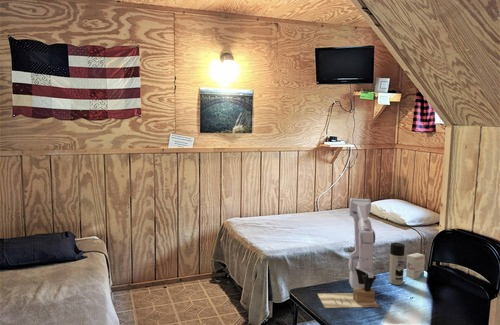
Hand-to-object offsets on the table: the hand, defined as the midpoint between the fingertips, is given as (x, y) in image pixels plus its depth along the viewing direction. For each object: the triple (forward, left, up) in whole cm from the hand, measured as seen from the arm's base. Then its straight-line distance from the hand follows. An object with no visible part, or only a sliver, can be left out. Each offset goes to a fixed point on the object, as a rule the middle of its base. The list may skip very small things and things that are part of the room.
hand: (364, 287), depth 177 cm
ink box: (-31, +39, -8) cm, 50 cm away
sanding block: (0, 0, -6) cm, 6 cm away
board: (-1, -7, -8) cm, 10 cm away
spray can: (-23, +25, -8) cm, 35 cm away
